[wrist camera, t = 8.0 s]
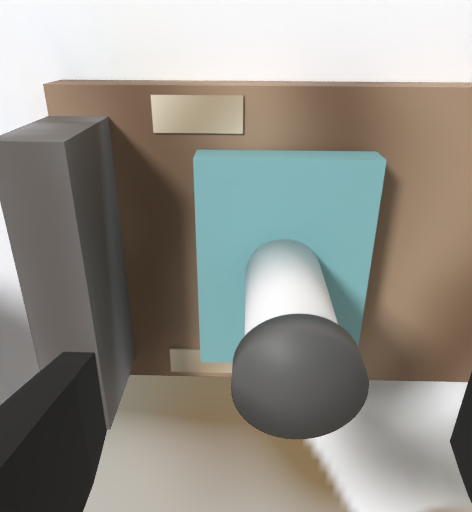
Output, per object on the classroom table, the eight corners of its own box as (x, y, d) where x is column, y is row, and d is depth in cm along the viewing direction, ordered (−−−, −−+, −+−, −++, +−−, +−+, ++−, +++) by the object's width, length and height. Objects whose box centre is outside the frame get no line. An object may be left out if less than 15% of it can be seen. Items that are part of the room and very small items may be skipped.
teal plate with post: (203, 343, 19) (179, 499, 12) (196, 149, 15) (159, 230, 9) (349, 346, 19) (400, 505, 12) (376, 151, 15) (467, 234, 9)
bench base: (103, 351, 21) (58, 448, 16) (61, 79, 16) (-24, 99, 11) (488, 358, 21) (563, 460, 16) (574, 83, 16) (727, 106, 11)
